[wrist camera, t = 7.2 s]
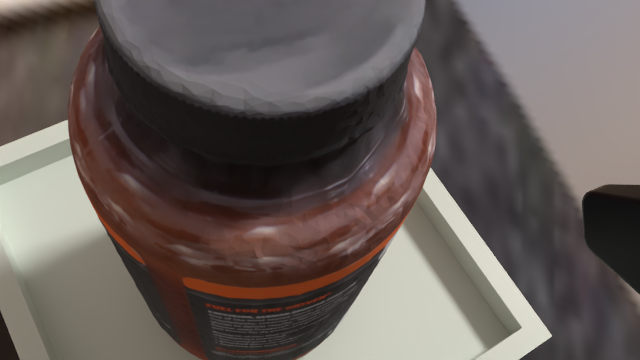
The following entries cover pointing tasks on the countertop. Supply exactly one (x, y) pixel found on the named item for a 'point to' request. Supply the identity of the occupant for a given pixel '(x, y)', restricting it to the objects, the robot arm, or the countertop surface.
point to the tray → (167, 356)
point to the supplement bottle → (252, 158)
